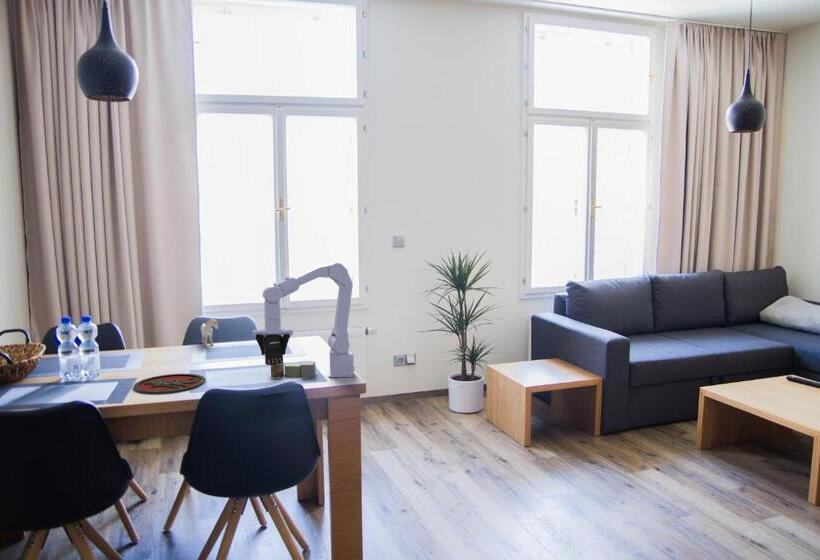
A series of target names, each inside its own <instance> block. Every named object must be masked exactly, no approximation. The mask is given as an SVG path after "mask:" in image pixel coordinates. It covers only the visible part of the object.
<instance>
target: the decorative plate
mask: <svg viewBox="0 0 820 560" xmlns="http://www.w3.org/2000/svg"><path fill="white" fill-rule="evenodd" d="M201 380H202V381H201ZM206 380H207V379H206V377H204V376H203V375H200V374H195V373H194V374H193V373H171V374H168V373H167V374H162V375H161V374H160V375H156V376H152V377H147V378H144V379H141V380H139V381H137V382H135V383H134V385H133V390H134V391H135V392H136V393H140V394H145V395H166V394H168V395H169V393H170V394H176V393H182V392H183V393H184V392H187V391H191V389H192V390H194V388H195V389H197V387H198V388H200V387H202V386H204V385H205V384H206ZM204 383H205V384H204ZM203 384H204V385H203ZM201 385H202V386H201ZM199 386H200V387H199Z"/></svg>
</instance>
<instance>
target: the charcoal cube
mask: <svg viewBox="0 0 820 560" xmlns="http://www.w3.org/2000/svg"><path fill="white" fill-rule="evenodd" d="M300 364H301V375H300V376H301V377H300V378H315V377H314V376H316V373H317V371H316V369H317V366H316V361H302V362H301V363H300Z"/></svg>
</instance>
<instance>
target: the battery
mask: <svg viewBox="0 0 820 560" xmlns="http://www.w3.org/2000/svg"><path fill="white" fill-rule="evenodd" d="M277 334H278V333H277ZM282 336H283V335H265V336H264V364H265V365H266V366H271V365H276V364H282V363H284V355H283V342H282Z"/></svg>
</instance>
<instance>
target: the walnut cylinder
mask: <svg viewBox="0 0 820 560" xmlns="http://www.w3.org/2000/svg"><path fill="white" fill-rule="evenodd" d="M284 364H285V363H284V362H283V363H282V364H276V365H270V377H271V378H272V377H274V378H273V379H280V378H283V377H285V365H284ZM279 377H280V378H279Z"/></svg>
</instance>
